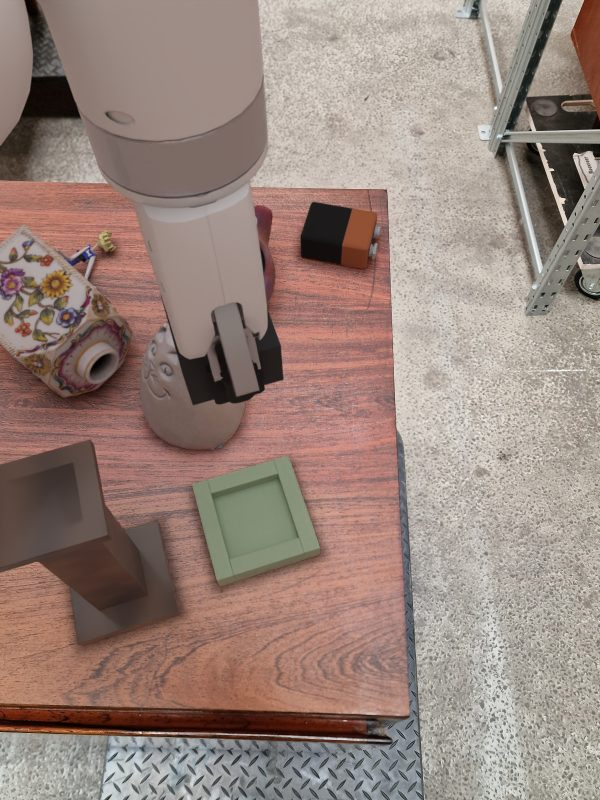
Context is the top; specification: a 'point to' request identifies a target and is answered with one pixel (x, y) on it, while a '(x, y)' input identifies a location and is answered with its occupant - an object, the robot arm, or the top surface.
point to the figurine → (89, 252)
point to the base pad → (255, 520)
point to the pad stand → (83, 543)
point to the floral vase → (57, 318)
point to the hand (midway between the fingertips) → (225, 350)
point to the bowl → (266, 248)
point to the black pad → (196, 368)
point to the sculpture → (181, 401)
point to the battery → (339, 235)
